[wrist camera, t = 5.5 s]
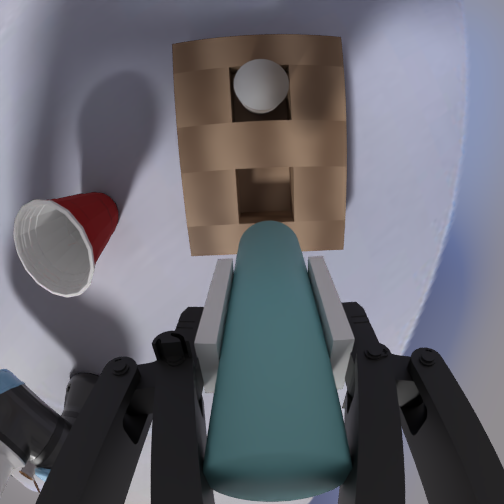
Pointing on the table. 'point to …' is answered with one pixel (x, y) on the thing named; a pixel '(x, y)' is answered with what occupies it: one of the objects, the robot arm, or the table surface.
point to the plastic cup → (64, 239)
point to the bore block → (262, 138)
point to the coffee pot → (29, 472)
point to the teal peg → (274, 381)
